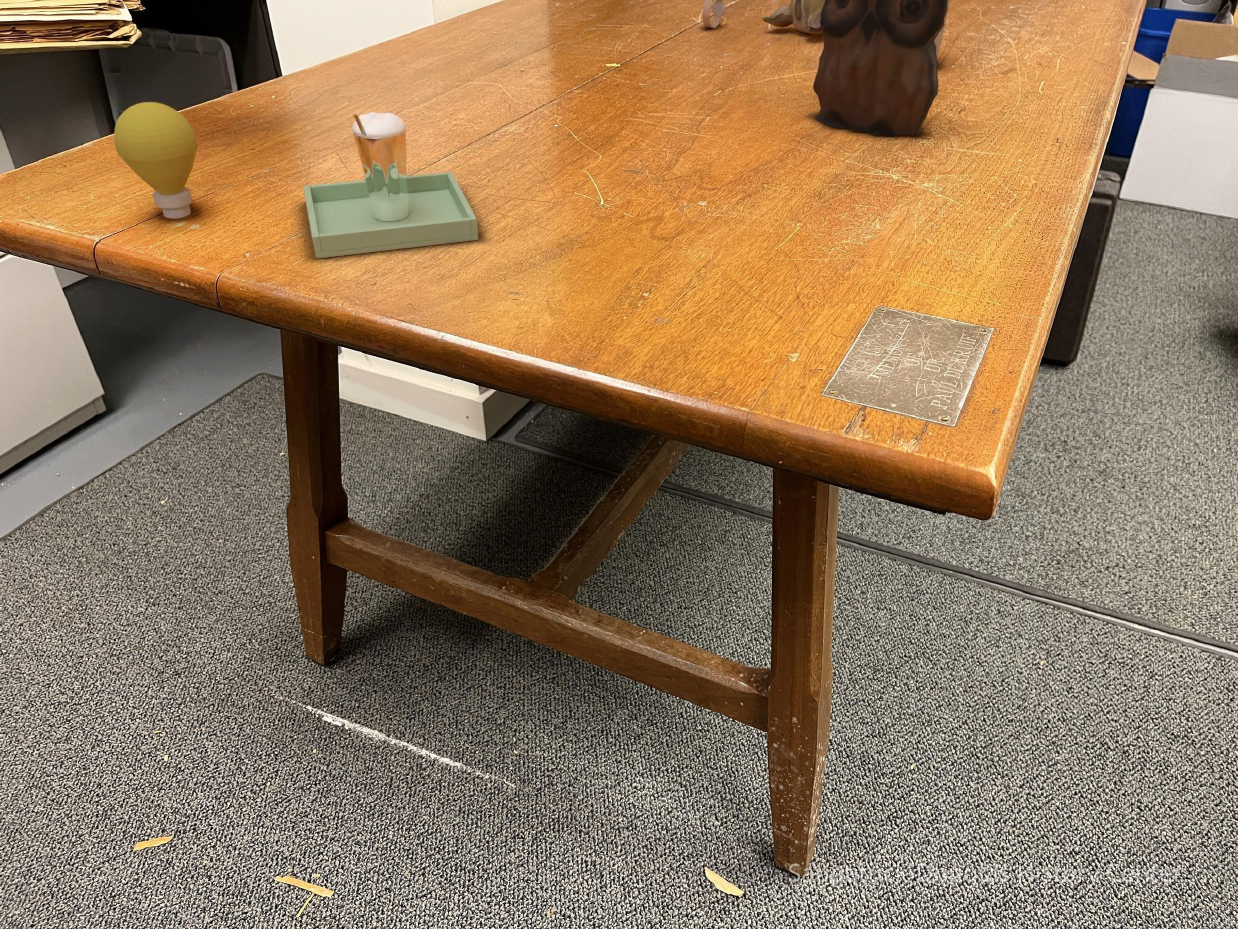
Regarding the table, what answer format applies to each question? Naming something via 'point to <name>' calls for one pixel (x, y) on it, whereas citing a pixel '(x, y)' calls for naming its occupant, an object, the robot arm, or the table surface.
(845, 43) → the owl
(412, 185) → the tray
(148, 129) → the light bulb
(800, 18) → the ceramic sculpture
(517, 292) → the table surface
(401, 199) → the milkshake
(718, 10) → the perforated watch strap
